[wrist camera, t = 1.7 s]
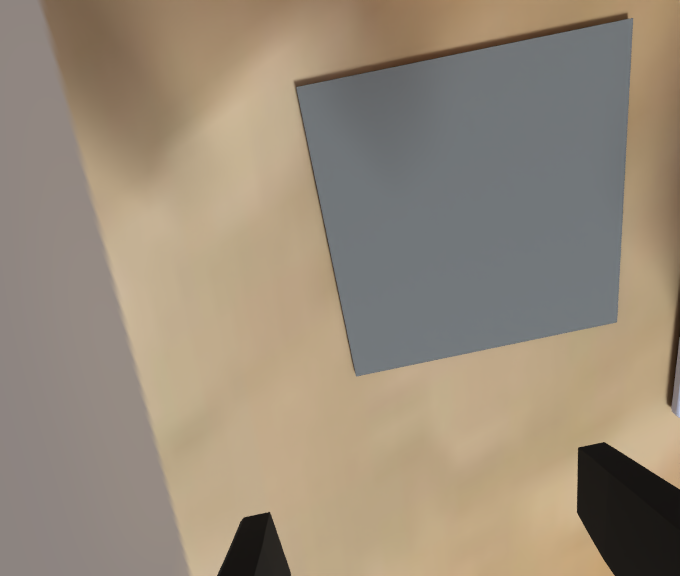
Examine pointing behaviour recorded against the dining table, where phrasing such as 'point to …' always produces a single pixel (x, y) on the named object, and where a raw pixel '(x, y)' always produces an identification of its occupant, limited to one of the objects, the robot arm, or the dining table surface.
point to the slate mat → (475, 194)
